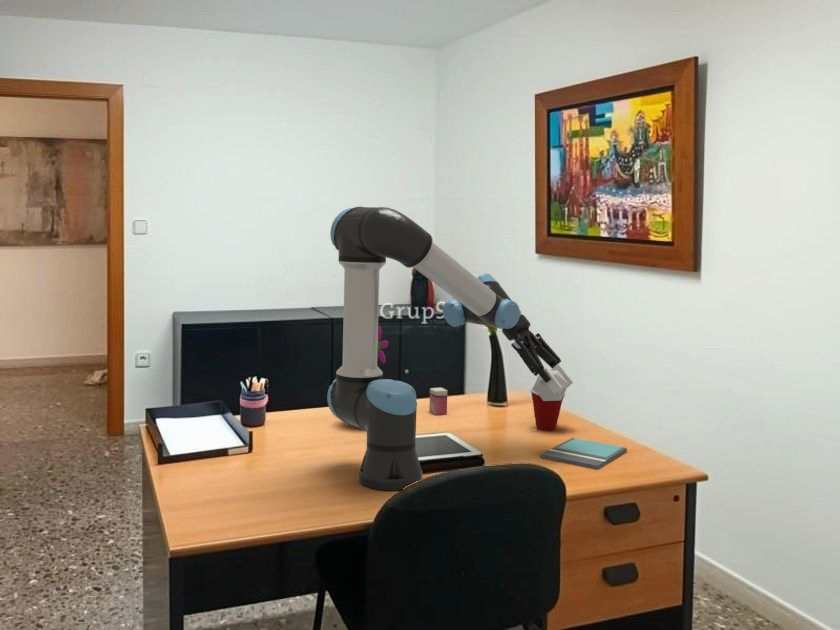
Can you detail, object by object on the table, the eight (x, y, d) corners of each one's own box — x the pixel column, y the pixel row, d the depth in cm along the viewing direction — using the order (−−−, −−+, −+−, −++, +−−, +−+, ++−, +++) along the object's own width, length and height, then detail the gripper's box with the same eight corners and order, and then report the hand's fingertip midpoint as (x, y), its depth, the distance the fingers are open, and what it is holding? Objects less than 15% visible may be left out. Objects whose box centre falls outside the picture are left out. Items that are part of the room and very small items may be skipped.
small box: (428, 411, 261) (429, 387, 260) (441, 410, 263) (441, 387, 262) (434, 415, 256) (435, 391, 255) (447, 414, 258) (447, 390, 257)
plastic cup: (549, 435, 235) (550, 395, 234) (521, 427, 244) (522, 388, 242) (572, 429, 243) (574, 390, 241) (544, 422, 251) (545, 384, 249)
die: (563, 407, 212) (577, 375, 215) (535, 390, 212) (550, 359, 215) (551, 410, 220) (565, 380, 223) (524, 395, 220) (539, 364, 223)
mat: (597, 469, 204) (597, 465, 204) (540, 457, 213) (540, 453, 213) (626, 451, 221) (626, 447, 220) (572, 441, 230) (572, 437, 230)
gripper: (519, 326, 232) (569, 389, 226) (485, 335, 216) (538, 403, 209) (536, 309, 229) (588, 373, 222) (503, 317, 212) (557, 386, 206)
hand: (563, 387), depth 216 cm, fingers closed on die, 7 cm apart
